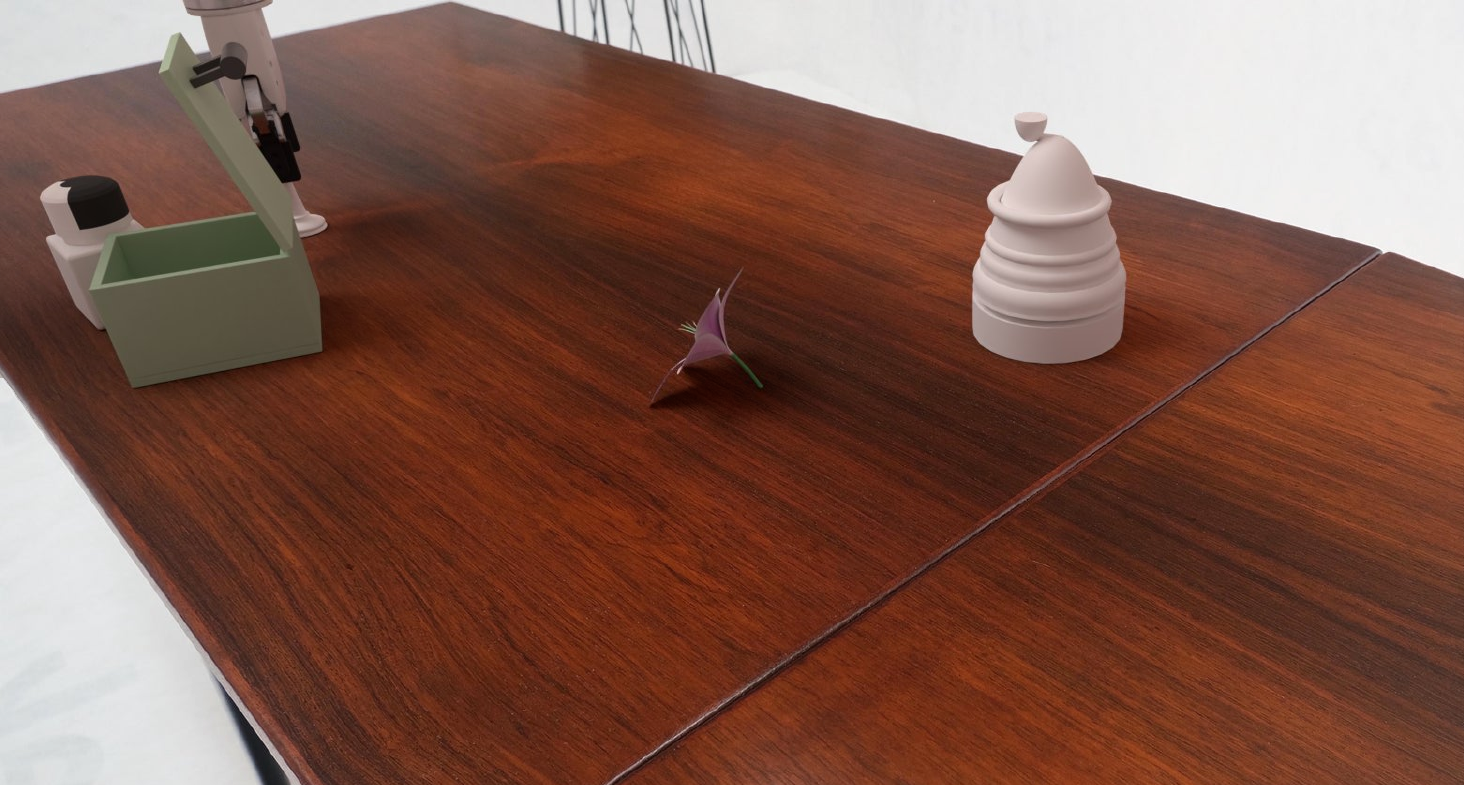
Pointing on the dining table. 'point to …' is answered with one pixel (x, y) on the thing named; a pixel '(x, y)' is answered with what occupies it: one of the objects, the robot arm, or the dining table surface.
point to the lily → (710, 337)
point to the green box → (205, 298)
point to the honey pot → (1048, 258)
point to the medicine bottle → (84, 231)
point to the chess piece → (304, 215)
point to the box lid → (228, 129)
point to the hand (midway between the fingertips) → (285, 167)
